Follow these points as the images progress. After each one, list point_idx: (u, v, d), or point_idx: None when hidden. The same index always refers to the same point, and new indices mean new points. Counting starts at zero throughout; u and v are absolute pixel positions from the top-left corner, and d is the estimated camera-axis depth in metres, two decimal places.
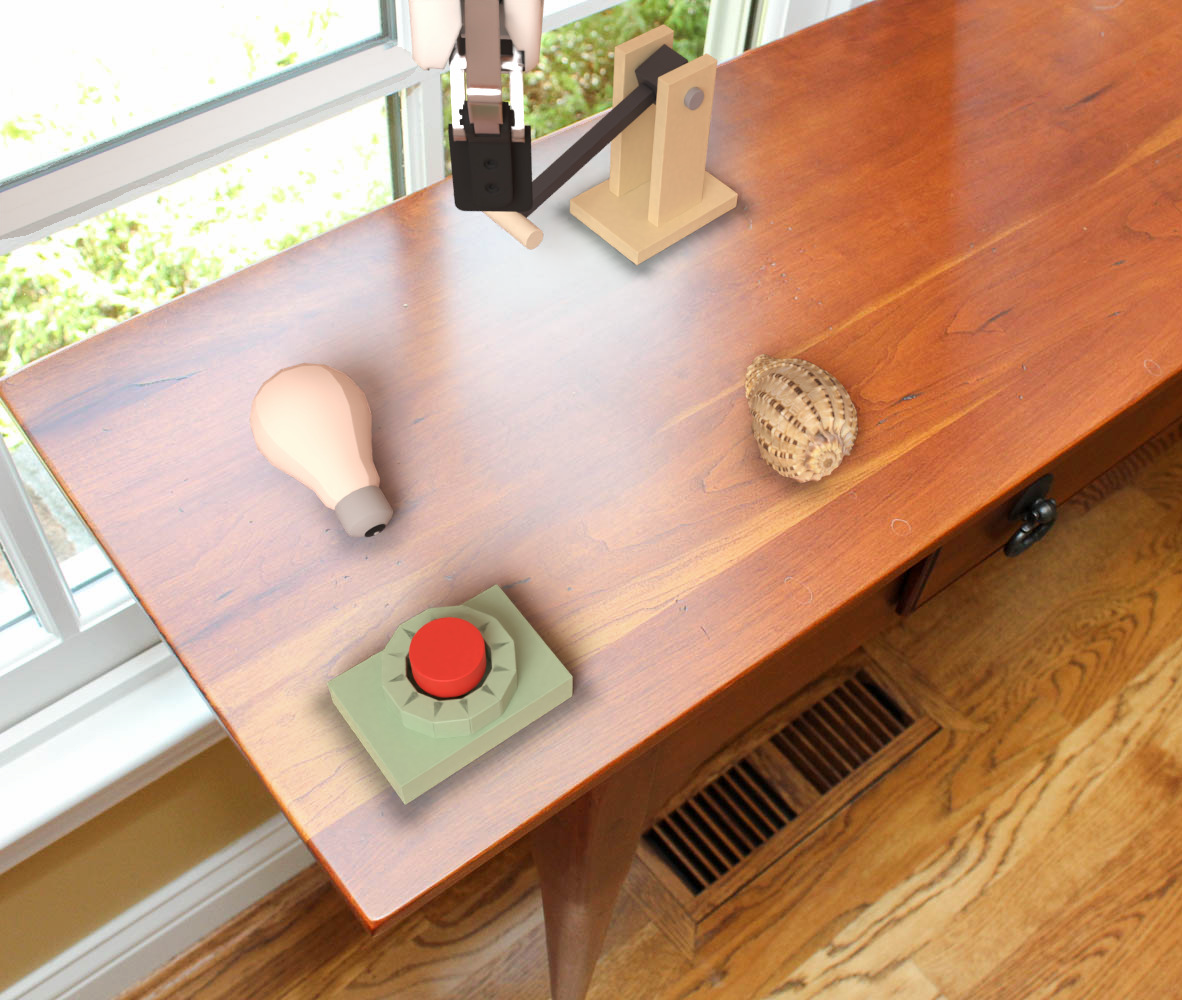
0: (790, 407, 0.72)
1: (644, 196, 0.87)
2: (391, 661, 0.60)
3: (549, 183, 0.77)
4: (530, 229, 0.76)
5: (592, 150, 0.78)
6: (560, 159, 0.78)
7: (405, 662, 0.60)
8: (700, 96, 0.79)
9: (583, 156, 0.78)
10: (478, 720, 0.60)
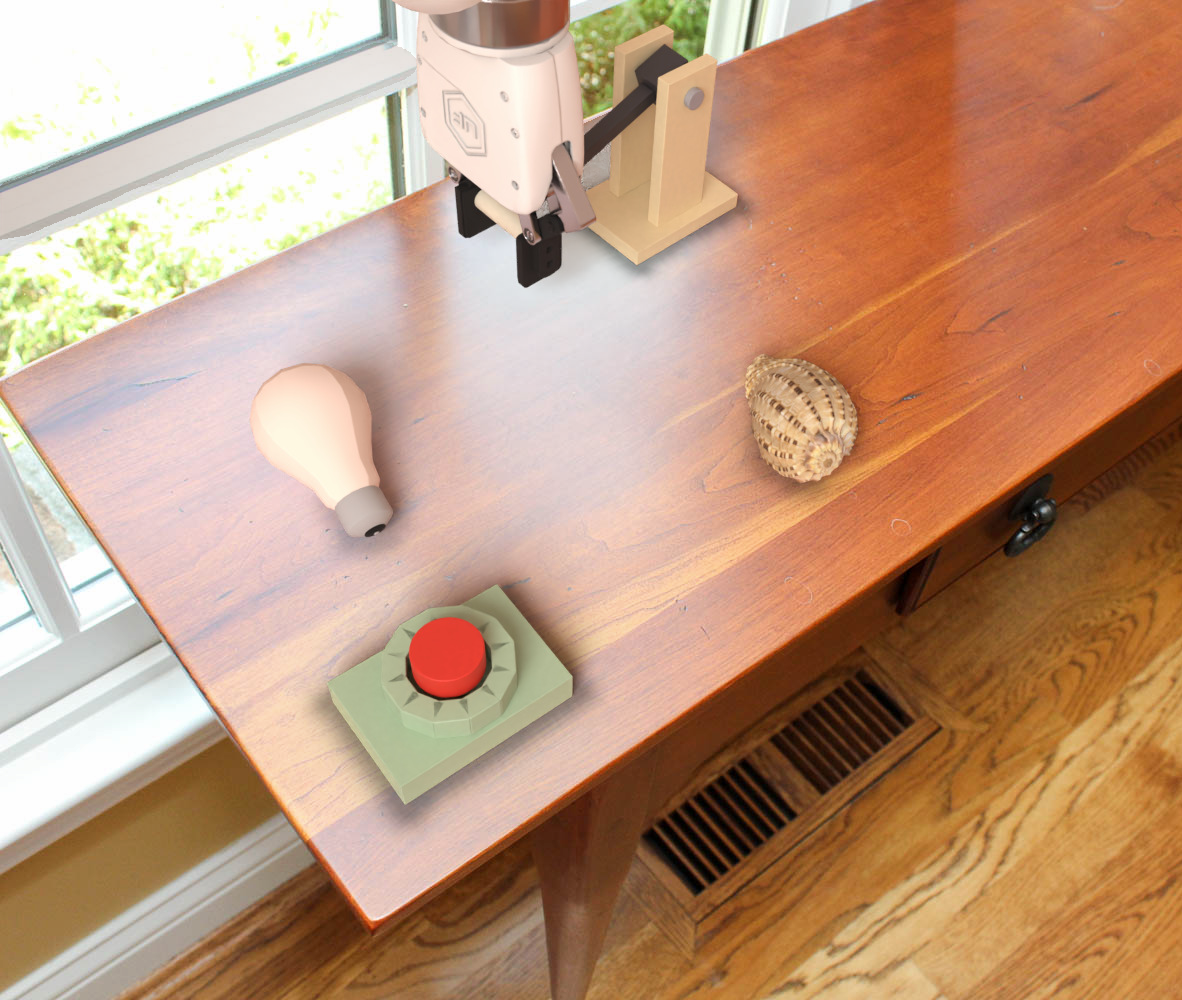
0: (790, 407, 0.72)
1: (644, 196, 0.87)
2: (391, 661, 0.60)
3: None
4: None
5: (592, 150, 0.78)
6: None
7: (405, 662, 0.60)
8: (700, 96, 0.79)
9: None
10: (478, 720, 0.60)
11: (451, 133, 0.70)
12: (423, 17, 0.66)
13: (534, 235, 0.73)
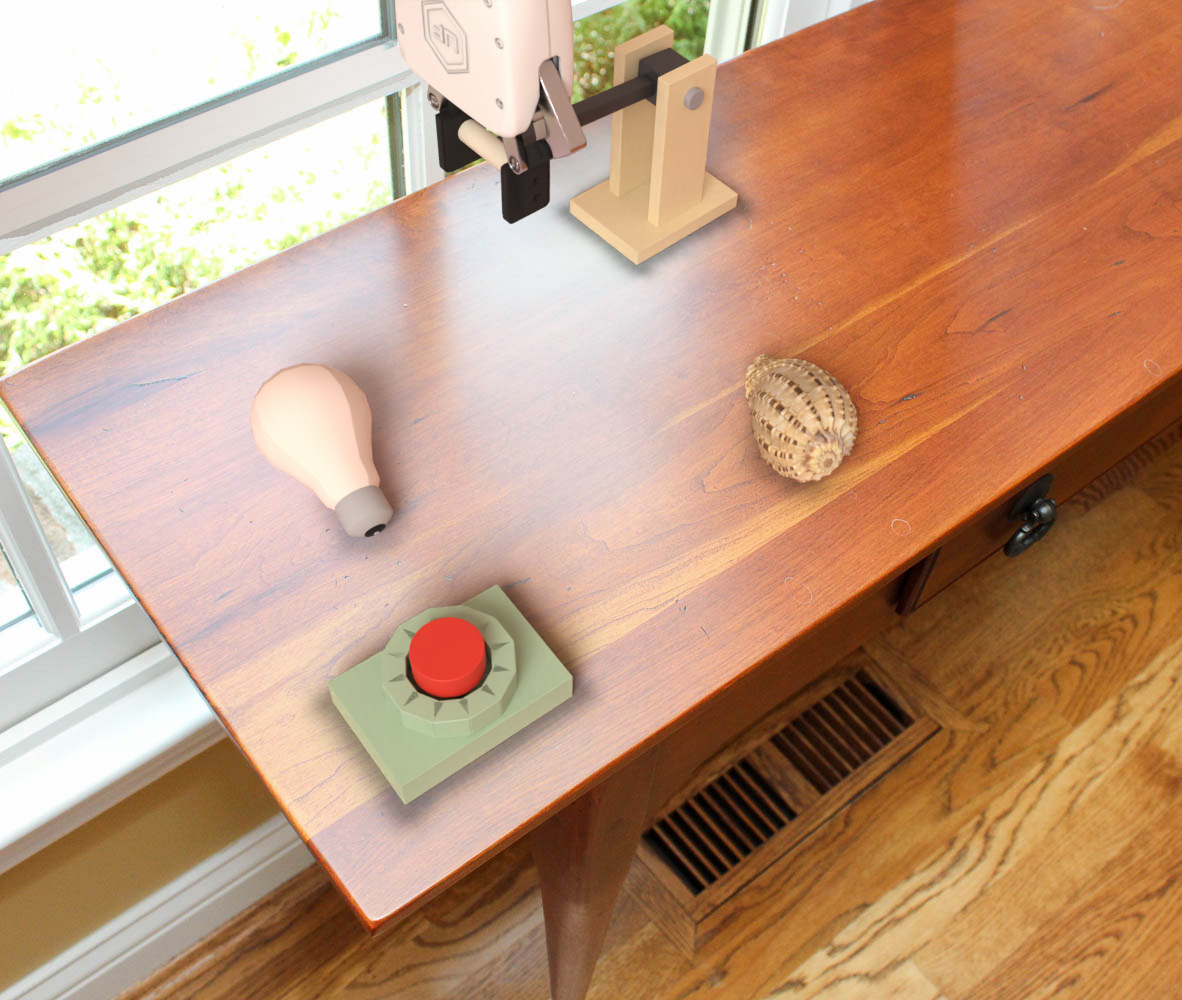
0: (790, 407, 0.72)
1: (644, 196, 0.87)
2: (391, 661, 0.60)
3: None
4: None
5: (589, 115, 0.76)
6: None
7: (405, 662, 0.60)
8: (700, 96, 0.79)
9: (580, 117, 0.75)
10: (478, 720, 0.60)
11: (431, 49, 0.65)
12: None
13: (520, 163, 0.68)
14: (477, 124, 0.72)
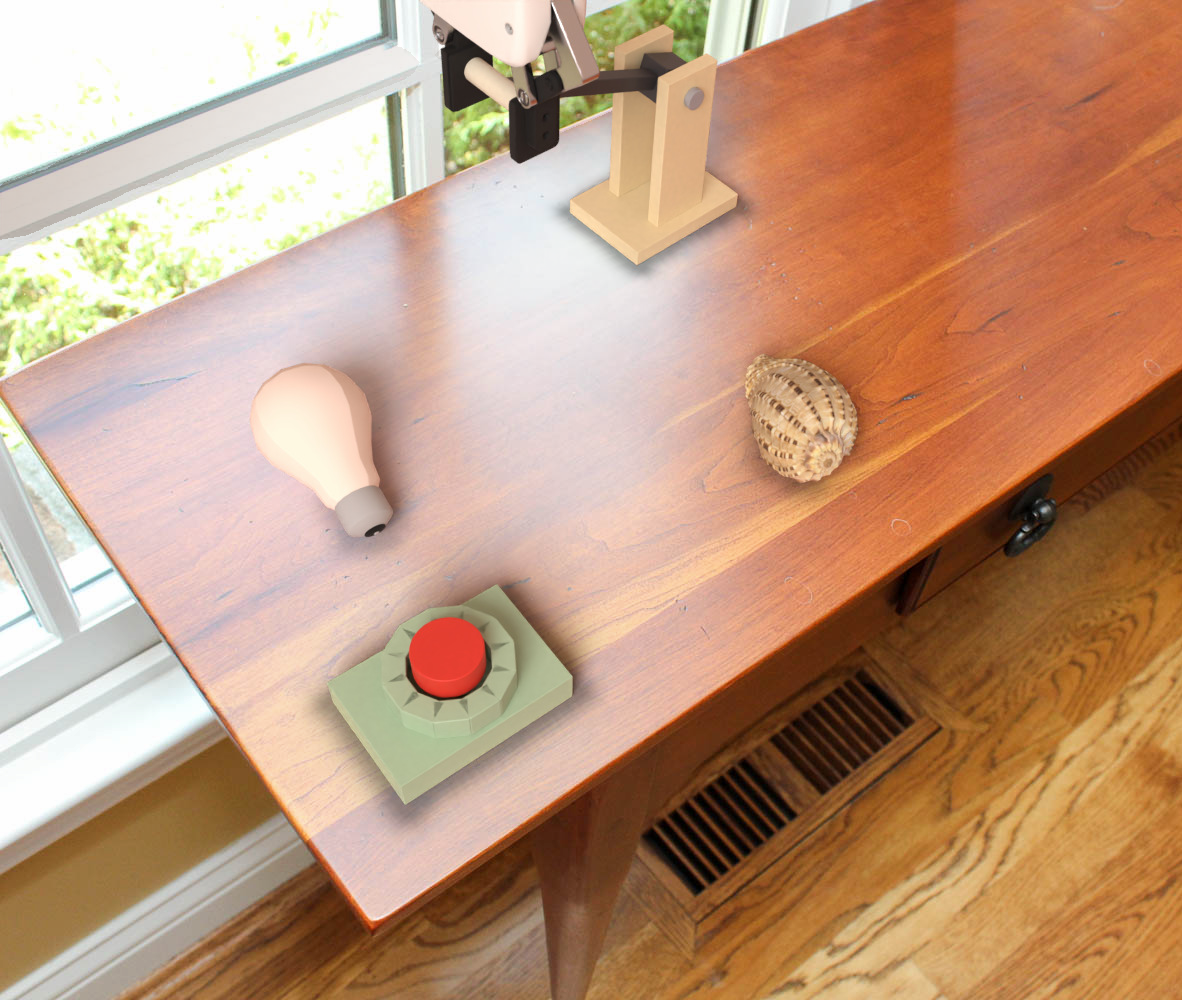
0: (790, 407, 0.72)
1: (644, 196, 0.87)
2: (391, 661, 0.60)
3: None
4: None
5: (594, 85, 0.74)
6: None
7: (405, 662, 0.60)
8: (700, 96, 0.79)
9: (587, 84, 0.74)
10: (478, 720, 0.60)
11: None
12: None
13: (529, 96, 0.65)
14: (486, 63, 0.70)
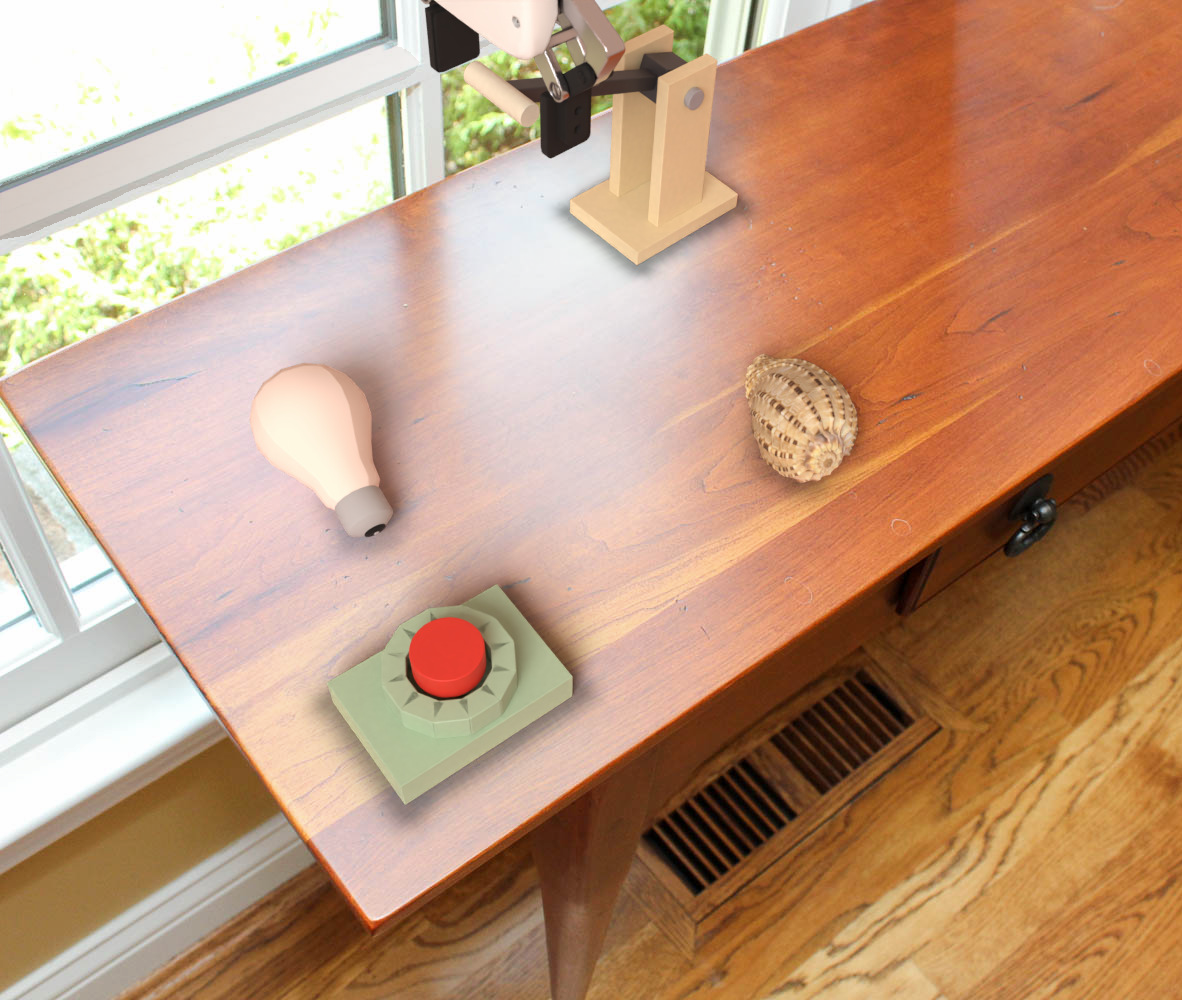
0: (790, 407, 0.72)
1: (644, 196, 0.87)
2: (391, 661, 0.60)
3: None
4: (531, 101, 0.68)
5: (594, 87, 0.74)
6: None
7: (405, 662, 0.60)
8: (700, 96, 0.79)
9: None
10: (478, 720, 0.60)
11: None
12: None
13: (561, 89, 0.64)
14: (485, 66, 0.70)
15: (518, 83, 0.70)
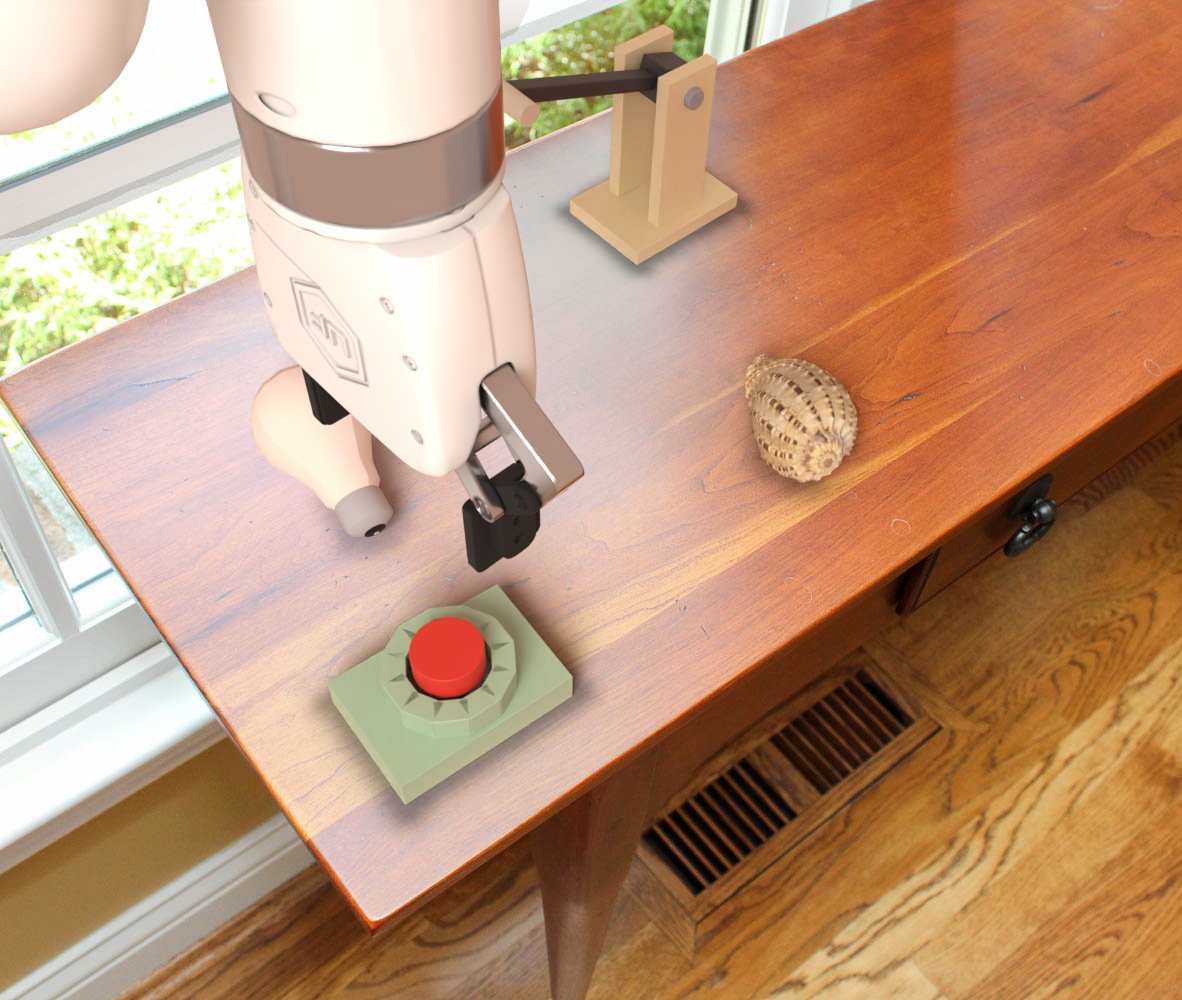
0: (790, 407, 0.72)
1: (644, 196, 0.87)
2: (391, 661, 0.60)
3: (552, 85, 0.71)
4: (531, 101, 0.68)
5: (594, 87, 0.74)
6: (563, 76, 0.73)
7: (405, 662, 0.60)
8: (700, 96, 0.79)
9: (586, 85, 0.74)
10: (478, 720, 0.60)
11: (311, 340, 0.42)
12: None
13: (492, 510, 0.43)
14: None
15: (518, 83, 0.70)
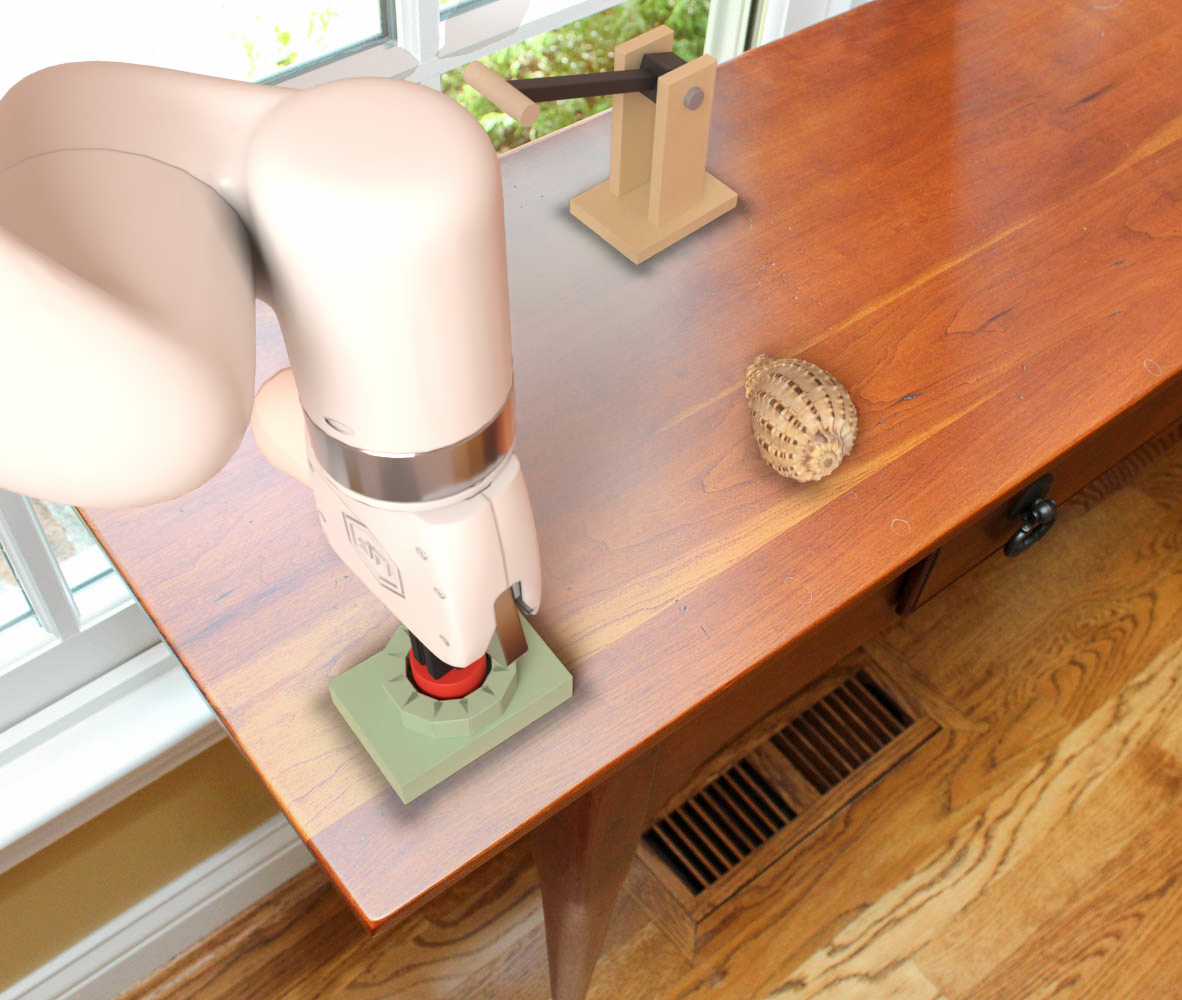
0: (790, 407, 0.72)
1: (644, 196, 0.87)
2: (391, 661, 0.60)
3: (552, 85, 0.71)
4: (531, 101, 0.68)
5: (594, 87, 0.74)
6: (563, 76, 0.73)
7: (405, 662, 0.60)
8: (700, 96, 0.79)
9: (586, 85, 0.74)
10: (478, 720, 0.60)
11: (358, 555, 0.51)
12: None
13: None
14: (485, 66, 0.70)
15: (518, 83, 0.70)
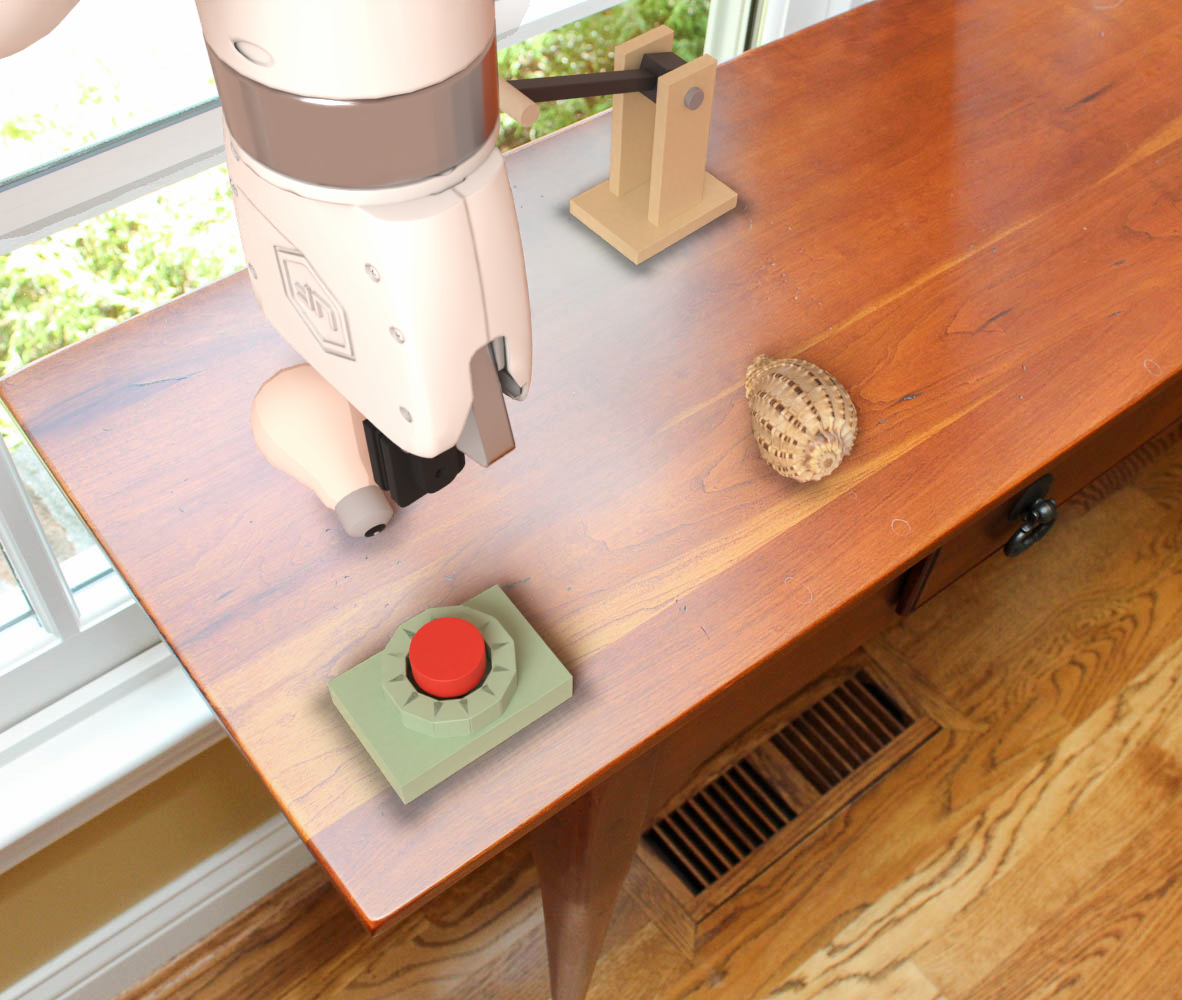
0: (790, 407, 0.72)
1: (644, 196, 0.87)
2: (391, 661, 0.60)
3: (552, 85, 0.71)
4: (531, 101, 0.68)
5: (594, 87, 0.74)
6: (563, 76, 0.73)
7: (405, 662, 0.60)
8: (700, 96, 0.79)
9: (586, 85, 0.74)
10: (478, 720, 0.60)
11: (297, 313, 0.40)
12: None
13: None
14: None
15: (518, 83, 0.70)
